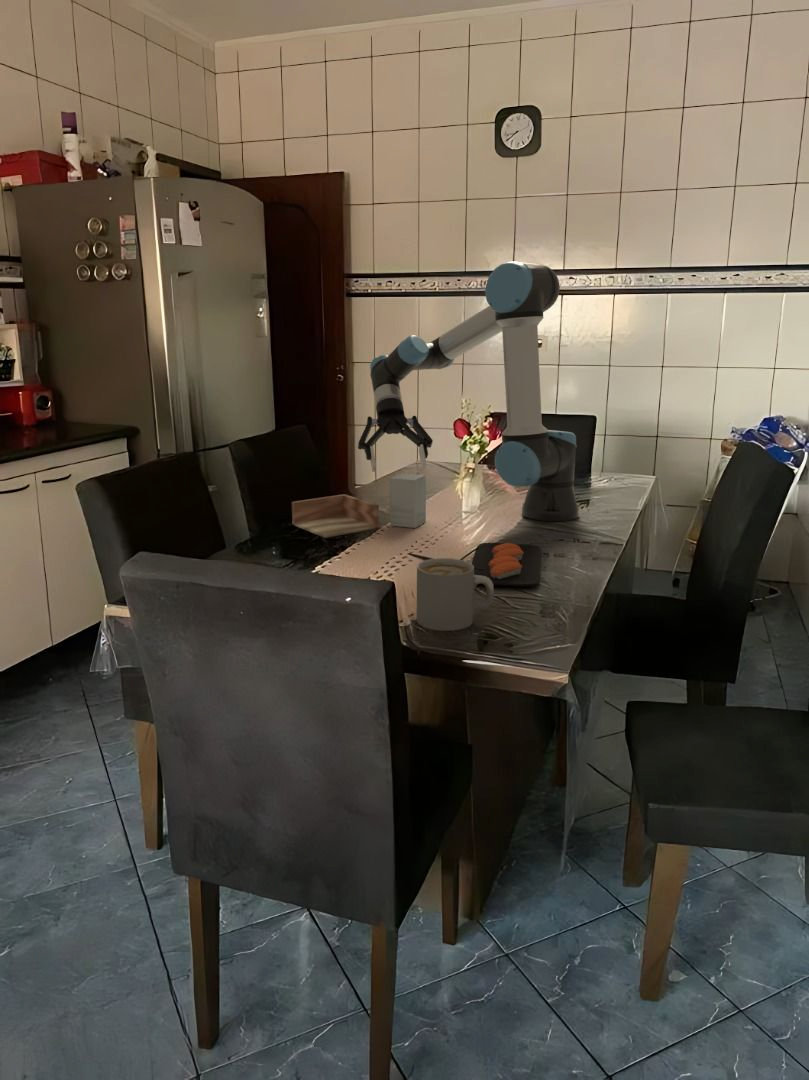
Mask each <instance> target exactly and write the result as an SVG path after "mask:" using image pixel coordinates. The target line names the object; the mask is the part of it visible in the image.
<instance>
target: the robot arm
mask: <svg viewBox="0 0 809 1080" xmlns="http://www.w3.org/2000/svg"><path fill="white" fill-rule="evenodd" d="M484 290H485V293H484V295H485V300H486V302H487V304H488V306H487V307H485V308H484V309H483V308H482V309H481V310H480V311H478V312H477V313H475V314H473V315H472V316H470V317H469V318H467V319H466V320H464V321H462V322H461V323H459V324H457V325H456V326H454V327H452V328H450V329H449V330H448V331H446V332H444V333H443V334H441V335H440V336H438V337H437V338H435V339H434V340H432V341H425V340H424V339H423V338H422V337H420V336H417V335H415V334H411V335H409V336H407V337H406V338H405V339H403V340H402V341H401V342H400V343H399V344H398V345H397V346H396V347H395V348H394V350H392V351H391V352H390V354H381V355H379V356H378V357H374V358H373V359H372V360H371V362H370V364H369V370H370V376H369V377H370V379H371V385H372V390H373V396H374V403H375V404H374V405H375V407H376V408H375V411H376V417H377V418H373V417H372V416H367V420H366V425H365V427H364V429H363V432H362V434H361V436H360V438H359V440H358V444H357V449H359V450H364V453H365V458H366V460H367V461H370V467H371V472H372V473H375V472H376V468H377V463H376V456H375V449H374V446H375V444H376V443H377V442H378V440H379V439H380V438H381V437H383V436H384V435H385V434H387V435H392V434H394V435H399V434H401V435H402V436H404V437H406V438H407V439H409V440H410V441H411V442H412V443H414V444H415V445H416V447H418V454H419V460H420V466H421V470H422V471H425V470H426V467H427V464H428V463H427V459H428V456H429V451H428V449H429V448H430V449H431V447H432V445H433V441H434V440H433V438H431V436H430V435H429V434H428V432H427V431H426V429H425V428H424V427H423V426H422V424H420V422H419V420H418V418H417V416H416V415H413V416H412V417H408V418H407V417H406V416H405V415H406V414H405V409H404V405H403V398H402V393H401V388H400V383H401V382H402V381H403V380H404V379H405V378H406V377H407V376H408V375H409V374H411V372H413V371H422V370H442V369H445V368H448V367H450V366H452V364H453V362H454V361H455V359H457V358H458V357H460V356H462V355H464V354H465V353H467V352H468V351H470V350H473V349H474V348H475V347H477V346H479V345H480V344H483V343H484V342H487V341H488V340H489V339H491V338H493V337H494V336H496V335H498V334H500V333H501V332H502V348H503V352H502V353H503V367H504V368H503V369H504V386H505V403H506V407H505V408H506V423H507V424H506V428H504V430H503V431H502V432H501V445H500V447H498V449H497V451H495V455H494V466H495V470H496V472H497V474H498V476H499V477H500V479H502V480H503V481H504V482H505V483H506V484H507V485H510V486H511V487H512V486H513V487H514V488H515V487H516V488H520V487H521V488H522V487H528V489H527V492H526V496H525V498H524V502H523V503H522V506H521V515H522V516H523V517H525V518H528V519H531V520H536V521H545V522H566V521H572V520H576V519H577V518H578V517H579V511H580V509H579V506H578V503H577V498H576V493H575V490H574V485H575V484H574V483H575V468H576V453H577V452H576V451H577V447H578V446H577V436H576V434H575V433H574V432H572V431H571V432H570V431H563V430H554V429H553V430H552V429H548V428H547V427H545V426H544V425H543V423H542V421H543V420H542V402H541V401H542V399H541V377H540V376H541V375H540V355H539V334H538V333H539V331H538V330H539V328H538V326H539V324H540V323H541V322H542V320H544V313H545V312H546V311H548V310H549V309H551V308H552V307H553V306H554V305H555V303H556V302H557V300H558V297H559V295H560V290H561V287H560V280H559V277H558V275H557V274H556V272H555V271H554V270H553V269H552V268H550V267H549V266H546V265H545V264H540V263H530V262H524V261H508V262H504V263H501V264H499V265H497V266H496V268H494V269H493V271H492V272H491V274H489V276H488V278H487V280H486V284H485V289H484ZM375 425H376V426H377V427H378V429H376V431H375V432H374V433H373V434H372V435H371V437H370V438H369V439H368V437H369V434H370V432H371V431H372V428H373V427H375ZM409 426H410V427H411V428H412V429H411V428H410V427H409ZM367 439H368V440H367Z"/></svg>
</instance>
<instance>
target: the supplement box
mask: <svg viewBox="0 0 809 1080" xmlns="http://www.w3.org/2000/svg"><path fill="white" fill-rule="evenodd" d="M426 478H427V476H426V474H414V473H413V474H412V473H403V472H402V473H398V474H396V475H394V476H392V477H389V478H388V479H389V480H388V481H389V525H390V526H391V527H393V526H394V527H400V528H401V527H402V528H411V529H416V528H418V527H420V526H422V525H424V524H425V523H426V522H427V520H426V519H427V512H426V511H427V508H426V505H427V499H426V498H427V497H426V496H427V491H426V490H427V483H426V482H427V481H426V480H427V479H426ZM423 523H424V524H423Z"/></svg>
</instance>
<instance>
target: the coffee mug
mask: <svg viewBox="0 0 809 1080" xmlns="http://www.w3.org/2000/svg"><path fill="white" fill-rule="evenodd" d="M471 563H472V562H469V561H466V560H464V559H463V560H460V559H459V558H449V557H447V558H446V557H443V558H442V557H440V558H439V557H438V558H434V559H429V560H425V559H424V560H423V561H421V562H419V563H417V565H416V623H417V624H418V625H420V626H421V627H423V628H426V629H429V630H434V631H442V632H443V631H444V632H445V631H446V632H449V631H459V630H462V629H466V628H468V627H470V626H472V624H473V621H474V614H475V613H476V612H477V611H480V610H483V609H485V608H487V607H489V606H490V605H491V603H492V602H493V600H494V596H495V588H494V585H493V583H492V581H491V580H490V579H489V578H488V577H486V576H481V575H474V566H473V565H472V564H471ZM480 583H481V584H482V585H484V586H485V589H486V595H485V597H484V598H483V599H478V598H477V597H476V595H475V591H476V587H477V586H478V585H479V584H480ZM481 584H480V585H481Z"/></svg>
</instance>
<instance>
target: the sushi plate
mask: <svg viewBox="0 0 809 1080" xmlns="http://www.w3.org/2000/svg"><path fill="white" fill-rule="evenodd" d="M473 553H474V554H473ZM406 554H407V555H410V556H412V557H415V558H418V559H421V558H422V559H421V560H424V561H425V560H429V559H435V558H434V557H429V556H424V555H419V554H414V553H406ZM471 554H473V558H472V560H471V562H470V563H471V564H472V565H473V566H474V575H481V576H486V577H488V578H489V579H490V580H491V581H492V583H493V586H510V587H511V586H513V587H514V586H515V587H533V586H537V585H538V584H539V583H540V581H541V570H542V569H541V567H542V566H541V565H542V564H541V563H542V549H541V547H540V546H538V545H535V544H527V543H526V544H523V543H513V542H506V543H505V542H504V543H503V542H482V543H479V544H478V545H477V546H476V547H475V548H474V549H473V550H470V551H469V552H468V553H466V555H463V556H462V557H461V558H460V559H459V560H463V561H464V559H466V558H467V557H468V556H470V555H471ZM480 585H481V583H480Z"/></svg>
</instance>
